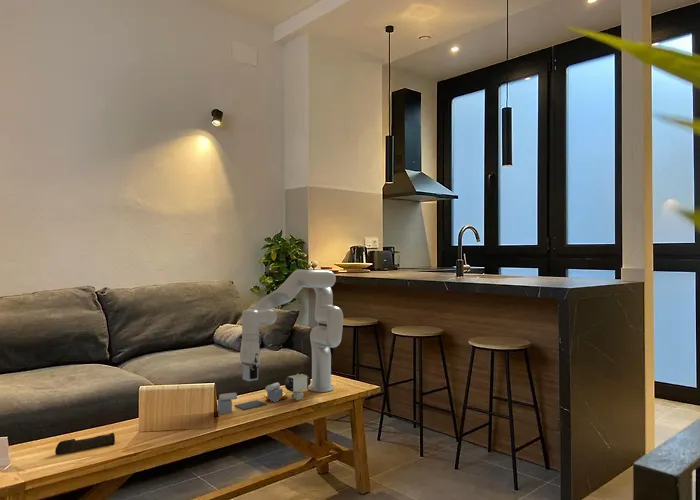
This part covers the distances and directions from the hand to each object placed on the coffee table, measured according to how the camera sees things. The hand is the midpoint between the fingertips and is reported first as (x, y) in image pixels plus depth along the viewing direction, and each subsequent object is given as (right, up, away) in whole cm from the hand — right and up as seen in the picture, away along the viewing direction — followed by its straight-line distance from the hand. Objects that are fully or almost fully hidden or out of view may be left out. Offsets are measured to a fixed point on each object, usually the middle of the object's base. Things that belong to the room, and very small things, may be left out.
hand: (250, 377), depth 238 cm
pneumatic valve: (+20, -13, +11) cm, 26 cm away
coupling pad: (0, -13, 0) cm, 13 cm away
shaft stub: (-8, -13, -8) cm, 17 cm away
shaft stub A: (+9, -13, +8) cm, 18 cm away
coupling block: (0, -1, 0) cm, 1 cm away
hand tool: (-49, -14, -51) cm, 72 cm away
